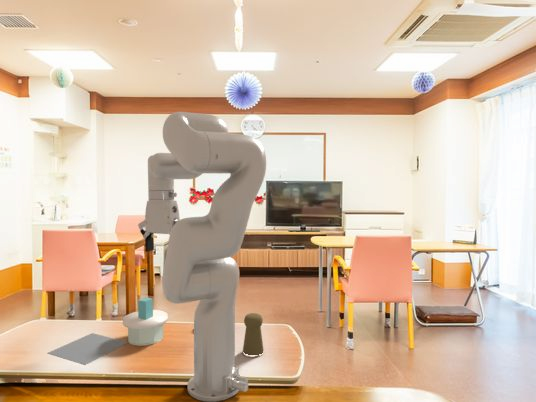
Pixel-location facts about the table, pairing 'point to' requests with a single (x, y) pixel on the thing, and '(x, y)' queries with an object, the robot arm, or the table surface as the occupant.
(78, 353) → the mat
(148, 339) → the bowl
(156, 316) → the lid
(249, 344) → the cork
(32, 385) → the table surface
